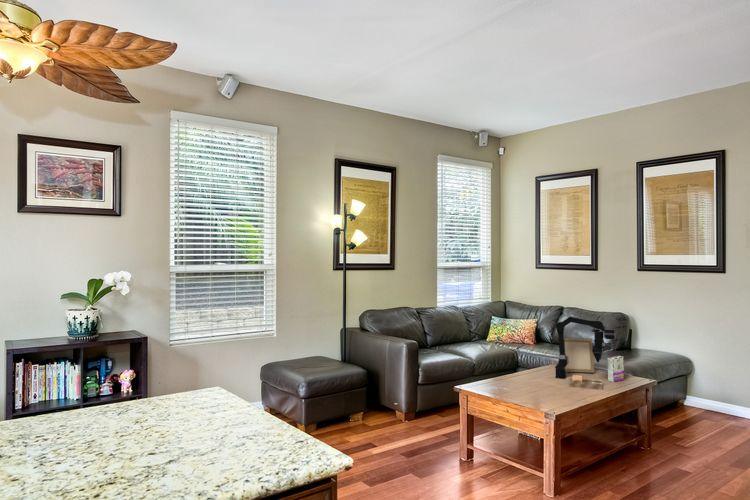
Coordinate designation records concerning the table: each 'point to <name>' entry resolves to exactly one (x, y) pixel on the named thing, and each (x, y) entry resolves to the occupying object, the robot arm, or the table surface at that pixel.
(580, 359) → the photo frame
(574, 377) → the block
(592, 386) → the chute
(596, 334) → the robot arm
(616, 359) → the candy bar box
